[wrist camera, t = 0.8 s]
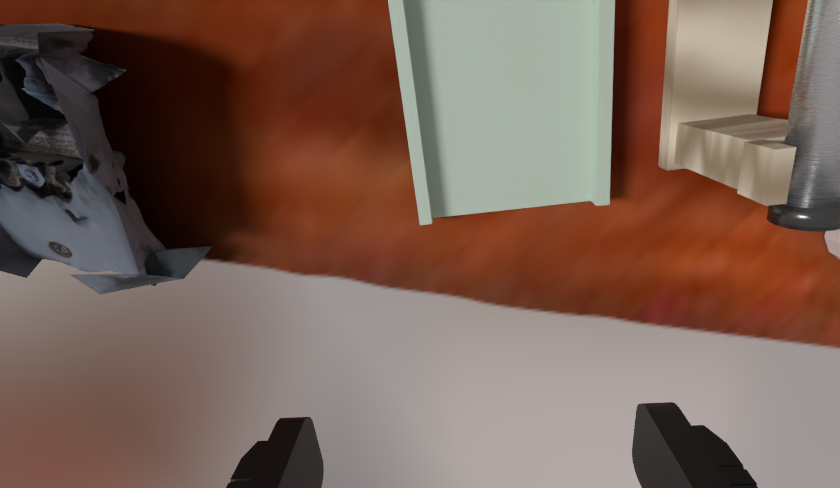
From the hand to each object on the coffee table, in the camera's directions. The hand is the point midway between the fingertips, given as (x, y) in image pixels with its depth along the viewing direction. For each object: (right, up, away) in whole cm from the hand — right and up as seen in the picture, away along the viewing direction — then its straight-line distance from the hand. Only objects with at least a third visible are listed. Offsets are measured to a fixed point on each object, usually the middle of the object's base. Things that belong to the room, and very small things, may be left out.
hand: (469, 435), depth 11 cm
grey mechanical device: (-29, +13, +27) cm, 41 cm away
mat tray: (+4, +22, +21) cm, 30 cm away
